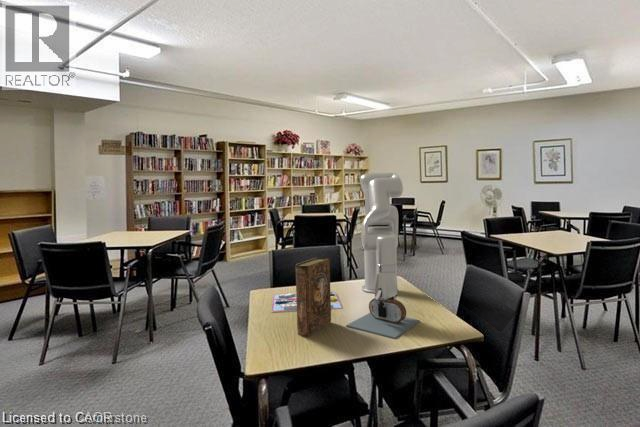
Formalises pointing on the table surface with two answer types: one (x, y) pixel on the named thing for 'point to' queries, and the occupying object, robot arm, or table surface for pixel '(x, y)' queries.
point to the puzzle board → (290, 302)
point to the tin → (389, 310)
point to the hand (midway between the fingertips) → (387, 313)
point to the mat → (383, 326)
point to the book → (313, 295)
